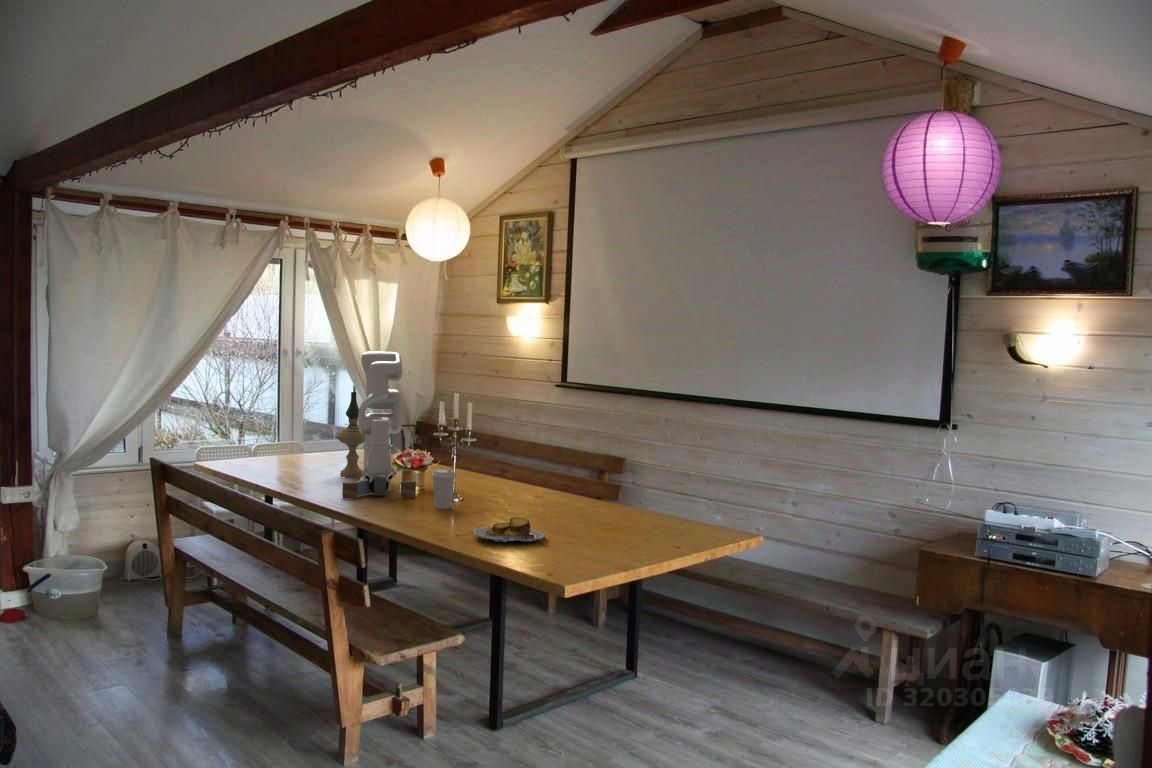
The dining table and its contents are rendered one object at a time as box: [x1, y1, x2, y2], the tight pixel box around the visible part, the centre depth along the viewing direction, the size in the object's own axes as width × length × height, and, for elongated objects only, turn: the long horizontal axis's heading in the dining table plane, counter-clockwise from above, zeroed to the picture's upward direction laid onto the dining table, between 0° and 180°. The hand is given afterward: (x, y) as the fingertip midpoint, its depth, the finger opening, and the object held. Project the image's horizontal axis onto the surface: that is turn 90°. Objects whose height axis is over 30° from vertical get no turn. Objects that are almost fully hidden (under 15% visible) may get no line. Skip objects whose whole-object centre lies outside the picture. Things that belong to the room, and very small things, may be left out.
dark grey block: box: [372, 476, 387, 496], centre depth 366 cm, size 7×5×7 cm
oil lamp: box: [336, 391, 364, 479], centre depth 407 cm, size 15×15×40 cm
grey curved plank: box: [355, 475, 391, 497], centre depth 370 cm, size 2×18×6 cm, turn 146°
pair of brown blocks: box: [341, 480, 417, 499], centre depth 363 cm, size 2×30×6 cm, turn 108°
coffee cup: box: [431, 468, 457, 510], centre depth 348 cm, size 10×10×15 cm
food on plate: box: [472, 516, 547, 543], centre depth 302 cm, size 25×25×7 cm
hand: (378, 490), depth 366 cm, fingers closed on dark grey block, 5 cm apart
